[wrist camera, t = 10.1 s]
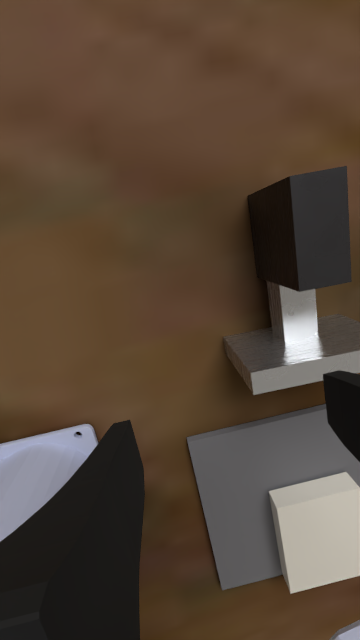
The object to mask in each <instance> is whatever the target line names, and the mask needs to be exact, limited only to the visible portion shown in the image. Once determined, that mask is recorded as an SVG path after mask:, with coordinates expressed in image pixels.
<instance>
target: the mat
mask: <svg viewBox="0 0 360 640" xmlns="http://www.w3.org/2000/svg"><path fill="white" fill-rule="evenodd" d="M187 442H188V446H189V451H190V455H191V459H192V463H193V468H194V472H195V476H196V481H197V485H198V489H199V493H200V498H201V502H202V506H203V510H204V515H205V519H206V523H207V528H208V532H209V536H210V540H211V545H212V549H213V553H214V557H215V562H216V566H217V570H218V574H219V579H220V583H221V587H222V590H225V589H229V588H233V587H237V586H241V585H245V584H249V583H252V582H256V581H260V580H264V579H268V578H272V577H276V576H279V575H283V573H282V568H281V562H280V556H279V550H278V545H277V539H276V533H275V527H274V521H273V515H272V509H271V503H270V497H269V491H271V490H275V489H279V488H283V487H287V486H291V485H295V484H299V483H303V482H307V481H311V480H315V479H319V478H323V477H327V476H331V475H335V474H339V473H343V472H347V473H348V474H349V476H350V477H351V478H352V479H353V480H354V481H355V483H356V484H357V485H358V486H359V487H360V462H359V461H358V460H357V459H356V458H355V457H354V456H353V455H352V454H351V452H350V451H349V450H348V449H347V448H346V447H345V446H344V445H343V443H342V442H341V441H340V439H339V438H338V437H337V435H336V434H335V432H334V431H333V430H332V428H331V427H330V425H329V424H328V420H327V411H326V404H323V405H319V406H315V407H311V408H307V409H302V410H298V411H294V412H290V413H286V414H282V415H277V416H273V417H269V418H265V419H261V420H257V421H253V422H248V423H244V424H240V425H236V426H232V427H228V428H223V429H219V430H215V431H211V432H207V433H203V434H198V435H194V436H190V437H187Z"/></svg>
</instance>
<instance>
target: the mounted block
mask: <svg viewBox="0 0 360 640" xmlns="http://www.w3.org/2000/svg"><path fill="white" fill-rule="evenodd" d="M248 203H249V212H250V220H251V229H252V237H253V246H254V254H255V263H256V272H257V278H260V279H263V280H266V281H267V288H268V297H269V307H270V316H271V325H272V327H270V328H265V329H260V330H255V331H250V332H245V333H240V334H235V335H230V336H225V337H223V339H224V345H225V352H226V355H227V356H228V358H229V359H230V361H231V362H232V364H233V365H234V367H235V368H236V370H237V371H238V372H239V374H240V375H241V377H242V378H243V380H244V381H245V383H246V384H247V386H248V387H249V389H250V390H251V392H252V393H253V395H256V394H261V393H265V392H270V391H275V390H280V389H284V388H289V387H294V386H299V385H304V384H308V383H313V382H318V381H323V374H325V373H329V372H334V371H338V370H340V371H346V372H351V373H355V374H356V373H360V322H358V321H355V320H353V319H350V318H348V317H345V316H343V315H340V314H335V315H330V316H325V317H320V318H317V311H316V297H315V289H317V288H322V287H327V286H332V285H337V284H342V283H347V282H351V261H350V236H349V212H348V187H347V166H344V167H338V168H333V169H327V170H322V171H316V172H311V173H305V174H300V175H294V176H289V177H287V178H285V179H283V180H281V181H279V182H276V183H274V184H272V185H270V186H268V187H266V188H263V189H261V190H259V191H257V192H255V193H253V194H251V195H248Z"/></svg>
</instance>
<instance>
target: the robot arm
mask: <svg viewBox="0 0 360 640" xmlns="http://www.w3.org/2000/svg"><path fill="white" fill-rule="evenodd" d="M323 381H324V391H325V401H326V411H327V420H328V424H329V425H330V427H331V428H332V430H333V431H334V432H335V434H336V435H337V437H338V438H339V439H340V441H341V442H342V443H343V445H344V446H345V447H346V448H347V449H348V450H349V451H350V452H351V454H352V455H353V456H354V457H355V458H356V459H357V460H358V461H359V462H360V375H359V374H355V373H351V372H346V371H340V370H338V371H334V372H329V373H325V374H323ZM76 432H81V433H82V435H77V434H76ZM144 497H145V491H144V470H143V464H142V461H141V457H140V454H139V450H138V447H137V443H136V439H135V436H134V432H133V429H132V425H131V422H130V420H127V421H123V422H118V423H114V424H113V425H112V426H111V427H110V428H109V430H108V431H107V432H106V434H105V435H104V437H103V438H102V439H101V441H100V442H99V443H98V441H97V437H96V434H95V431H94V428H93V427H92V426H91V425H89V424H83V425H79V426H74V427H70V428H66V429H62V430H58V431H53V432H49V433H45V434H41V435H36V436H32V437H28V438H24V439H19V440H15V441H11V442H7V443H2V444H0V640H140V624H139V562H140V549H141V537H142V524H143V511H144ZM330 640H360V620H359V621H356V622H354V623H352V624H350V625H348V626H346V627H344V628H342V629H340V630H338V631H337V632H336V633H335V634H334V635H333V636H332V637H331V639H330Z"/></svg>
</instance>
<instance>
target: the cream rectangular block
mask: <svg viewBox="0 0 360 640" xmlns="http://www.w3.org/2000/svg"><path fill="white" fill-rule="evenodd" d="M269 497H270V503H271V509H272V515H273V521H274V527H275V533H276V539H277V545H278V550H279V556H280V562H281V568H282V573H283V576H284V578H285V581H286V583H287V586H288V588H289V591H290V593H295V592H299V591H303V590H306V589H310V588H314V587H318V586H322V585H326V584H329V583H333V582H337V581H341V580H345V579H348V578H352V577H356V576H360V487H359V486H358V485H357V484H356V483H355V481H354V480H353V479H352V478H351V477H350V476H349V474H348V473H347V472H343V473H339V474H335V475H331V476H327V477H323V478H319V479H315V480H311V481H307V482H303V483H299V484H295V485H291V486H287V487H283V488H279V489H275V490H271V491H269Z"/></svg>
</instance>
